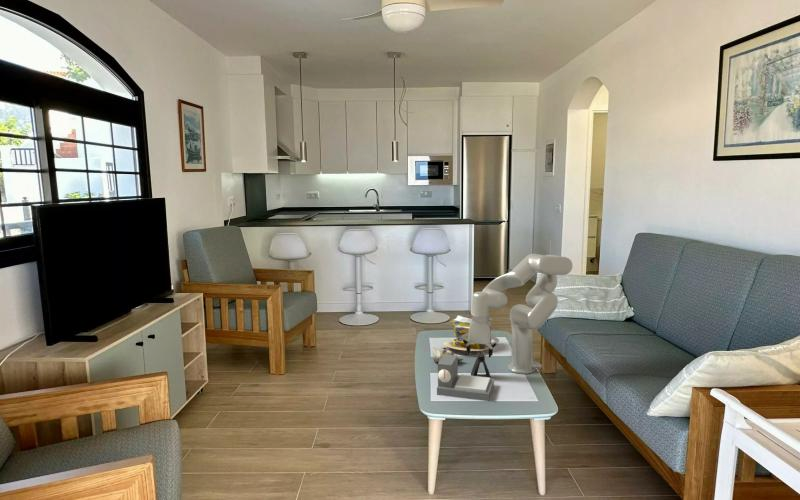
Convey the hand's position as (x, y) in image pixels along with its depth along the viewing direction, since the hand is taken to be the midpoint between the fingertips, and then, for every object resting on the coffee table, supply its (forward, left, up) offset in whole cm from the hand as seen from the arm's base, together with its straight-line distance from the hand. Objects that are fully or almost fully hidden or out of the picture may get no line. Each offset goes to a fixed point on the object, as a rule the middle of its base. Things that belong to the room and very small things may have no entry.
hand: (479, 355), depth 216 cm
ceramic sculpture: (+19, -13, -11) cm, 26 cm away
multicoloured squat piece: (+14, -37, -11) cm, 41 cm away
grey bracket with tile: (+3, +14, -11) cm, 18 cm away
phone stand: (-1, -1, -11) cm, 11 cm away
